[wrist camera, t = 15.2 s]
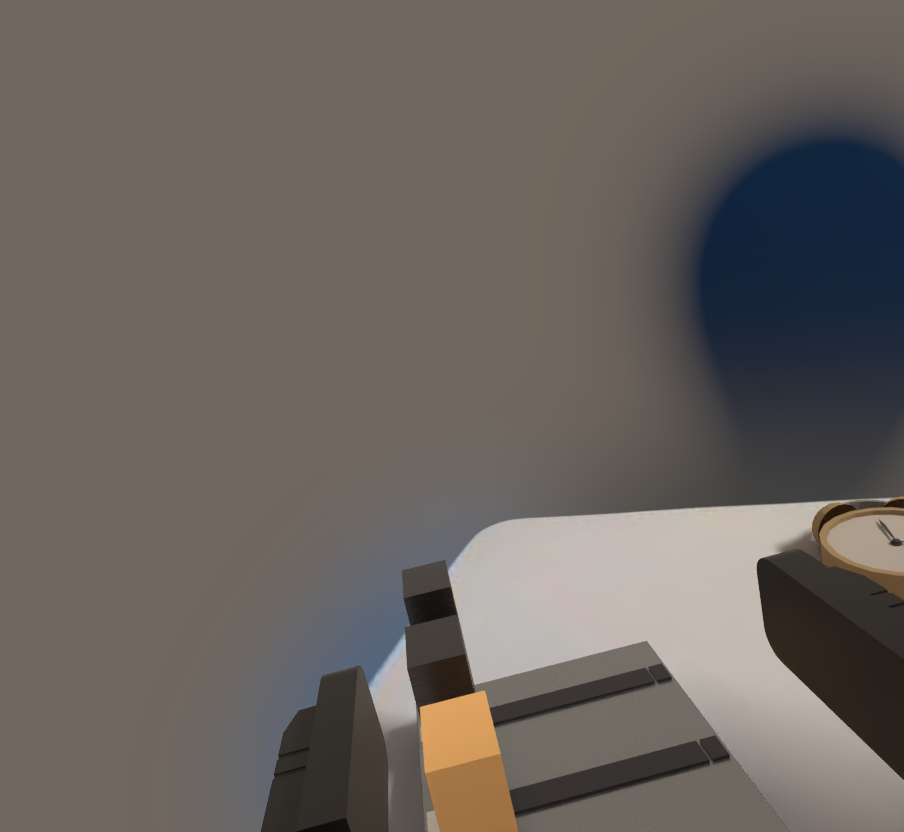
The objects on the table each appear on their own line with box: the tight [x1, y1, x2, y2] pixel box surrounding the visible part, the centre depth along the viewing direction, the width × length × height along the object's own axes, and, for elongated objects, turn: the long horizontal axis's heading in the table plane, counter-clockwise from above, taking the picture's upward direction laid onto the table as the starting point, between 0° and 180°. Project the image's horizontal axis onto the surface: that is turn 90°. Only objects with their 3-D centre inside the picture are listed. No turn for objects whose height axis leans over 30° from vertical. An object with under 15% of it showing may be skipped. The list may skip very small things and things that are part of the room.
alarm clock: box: [812, 497, 904, 600], centre depth 55 cm, size 11×5×15 cm
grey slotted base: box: [402, 560, 790, 832], centre depth 35 cm, size 18×23×14 cm
